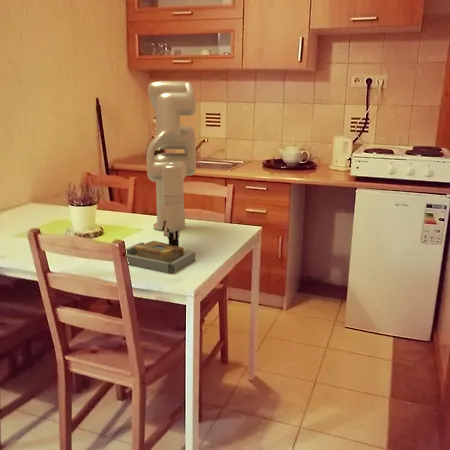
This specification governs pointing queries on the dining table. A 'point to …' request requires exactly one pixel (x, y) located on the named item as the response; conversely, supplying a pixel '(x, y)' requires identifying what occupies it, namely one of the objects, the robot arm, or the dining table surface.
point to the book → (159, 251)
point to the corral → (158, 264)
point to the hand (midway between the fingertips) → (173, 248)
